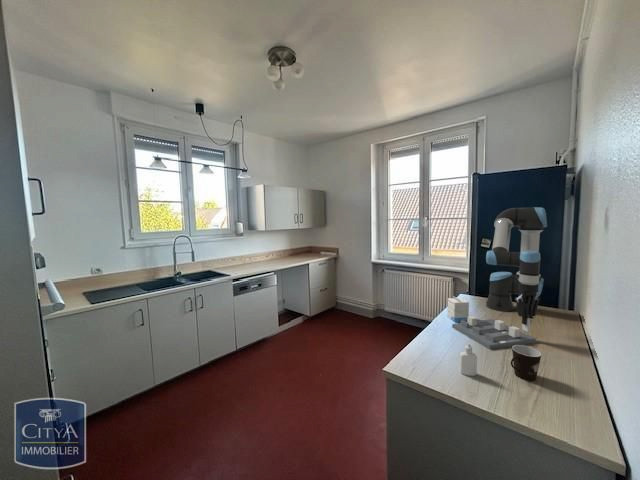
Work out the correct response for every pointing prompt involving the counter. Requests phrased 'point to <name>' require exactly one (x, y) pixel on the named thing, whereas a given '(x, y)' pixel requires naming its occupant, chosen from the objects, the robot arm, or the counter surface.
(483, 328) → the switch board
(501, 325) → the tab
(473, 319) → the tab
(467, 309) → the ink box
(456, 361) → the counter surface
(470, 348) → the eye dropper bottle
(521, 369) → the coffee mug
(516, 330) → the tab
